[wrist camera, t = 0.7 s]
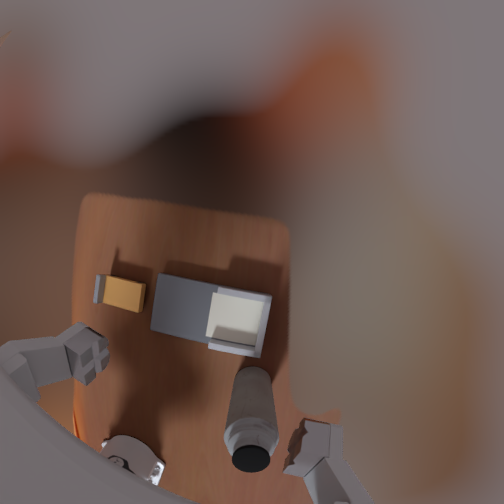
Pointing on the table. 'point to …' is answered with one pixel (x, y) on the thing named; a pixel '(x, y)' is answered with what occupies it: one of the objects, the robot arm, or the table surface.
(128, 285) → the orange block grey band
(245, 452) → the thermos bottle
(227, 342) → the dock
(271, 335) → the table surface
